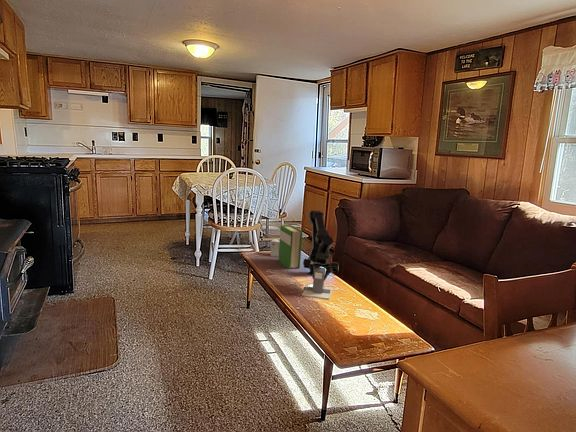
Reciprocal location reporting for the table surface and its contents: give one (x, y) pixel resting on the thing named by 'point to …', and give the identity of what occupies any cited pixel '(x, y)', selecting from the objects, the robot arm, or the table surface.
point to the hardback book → (290, 246)
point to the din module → (318, 280)
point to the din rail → (322, 290)
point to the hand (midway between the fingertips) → (318, 279)
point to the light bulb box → (275, 247)
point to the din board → (318, 295)
